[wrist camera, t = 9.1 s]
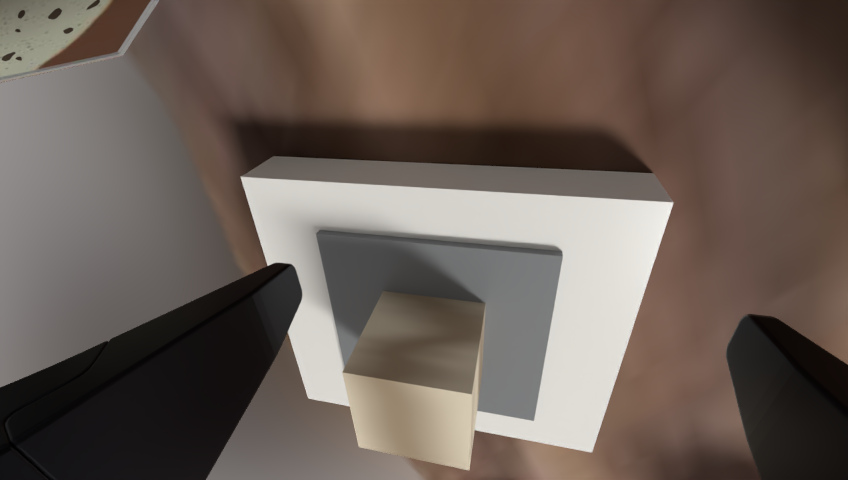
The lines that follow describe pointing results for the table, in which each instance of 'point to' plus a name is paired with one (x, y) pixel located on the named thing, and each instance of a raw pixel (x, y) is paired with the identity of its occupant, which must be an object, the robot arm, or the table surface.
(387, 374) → the birch block
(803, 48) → the table surface
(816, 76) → the table surface
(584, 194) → the base
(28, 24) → the food container
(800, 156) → the table surface
